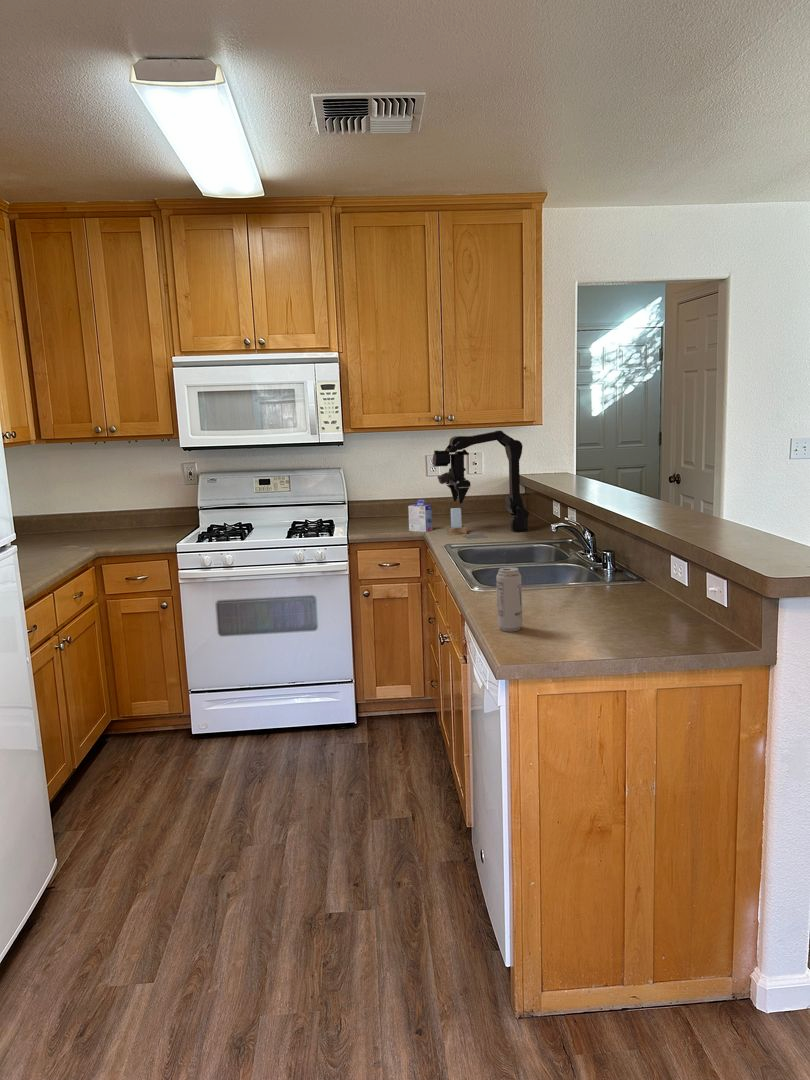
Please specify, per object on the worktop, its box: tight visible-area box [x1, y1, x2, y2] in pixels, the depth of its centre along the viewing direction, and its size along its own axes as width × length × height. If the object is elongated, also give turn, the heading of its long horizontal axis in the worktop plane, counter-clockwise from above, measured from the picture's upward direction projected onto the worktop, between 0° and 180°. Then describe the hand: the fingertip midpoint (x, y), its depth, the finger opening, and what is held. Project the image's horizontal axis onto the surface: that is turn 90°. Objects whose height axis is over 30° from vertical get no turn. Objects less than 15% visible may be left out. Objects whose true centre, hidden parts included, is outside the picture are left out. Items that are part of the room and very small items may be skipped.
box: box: [446, 525, 468, 536], centre depth 327 cm, size 8×7×4 cm
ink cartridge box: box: [408, 499, 434, 533], centre depth 340 cm, size 10×6×14 cm, turn 53°
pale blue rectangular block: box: [450, 507, 463, 528], centre depth 327 cm, size 4×4×11 cm
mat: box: [462, 533, 488, 540], centre depth 318 cm, size 9×9×1 cm
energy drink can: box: [495, 566, 523, 633], centre depth 184 cm, size 6×6×15 cm
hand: (457, 502), depth 322 cm, fingers open, 9 cm apart
